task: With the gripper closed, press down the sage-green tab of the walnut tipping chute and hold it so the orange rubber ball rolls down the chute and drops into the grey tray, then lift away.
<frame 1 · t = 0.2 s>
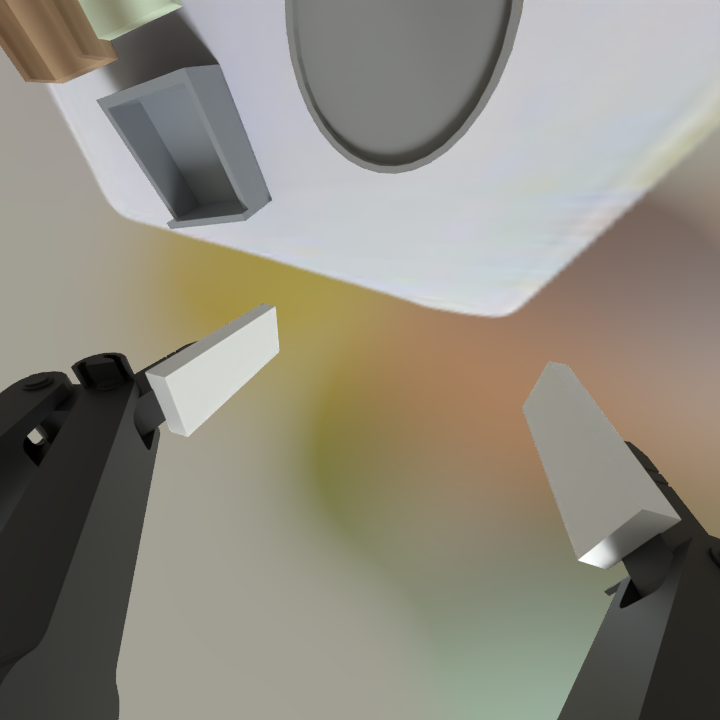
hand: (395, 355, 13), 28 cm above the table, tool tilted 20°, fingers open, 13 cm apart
reusable coffee cup: (426, 39, 23), on the table
grey tray: (209, 150, 35), on the table
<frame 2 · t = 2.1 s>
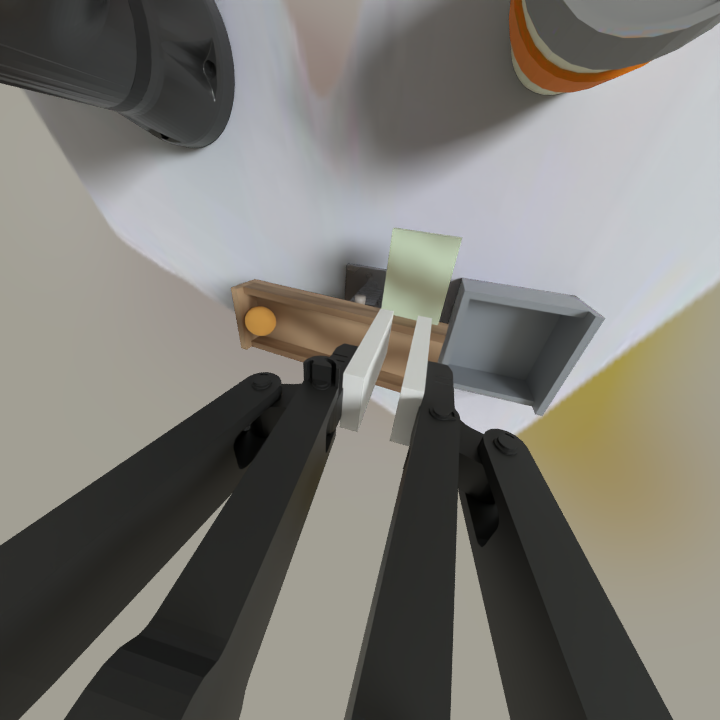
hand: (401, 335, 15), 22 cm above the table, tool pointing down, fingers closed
ball: (260, 321, 32), point 10 cm above the table, tilted 10°, touching chute
reusable coffee cup: (571, 20, 22), on the table
chute: (336, 305, 29), point 10 cm above the table, hinge at 6.1°, touching ball
stand: (371, 309, 39), on the table
grey tray: (497, 333, 36), on the table
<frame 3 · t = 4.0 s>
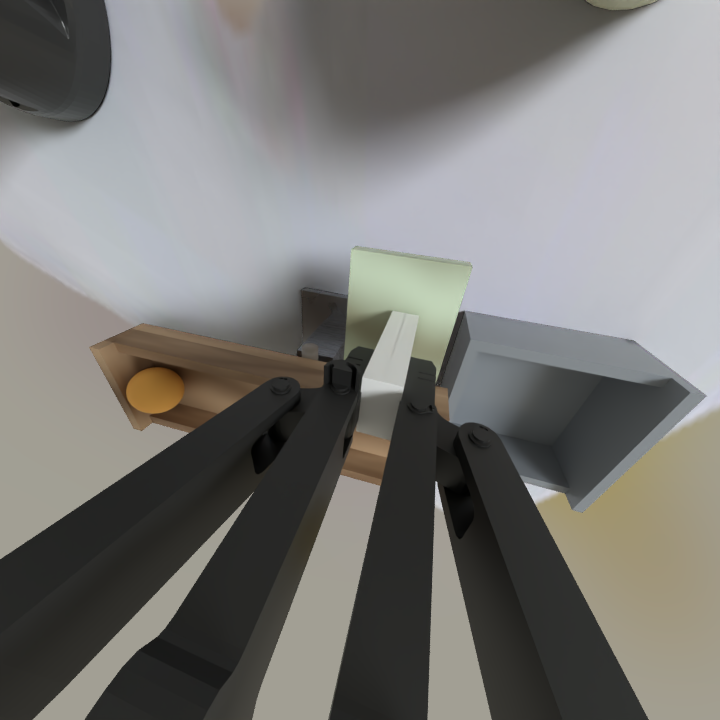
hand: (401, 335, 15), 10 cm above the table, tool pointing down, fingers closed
ball: (156, 390, 21), point 12 cm above the table, touching chute
chute: (272, 366, 18), point 10 cm above the table, hinge at -1.1°, touching ball, gripper
stand: (340, 348, 28), on the table
grey tray: (513, 385, 26), on the table
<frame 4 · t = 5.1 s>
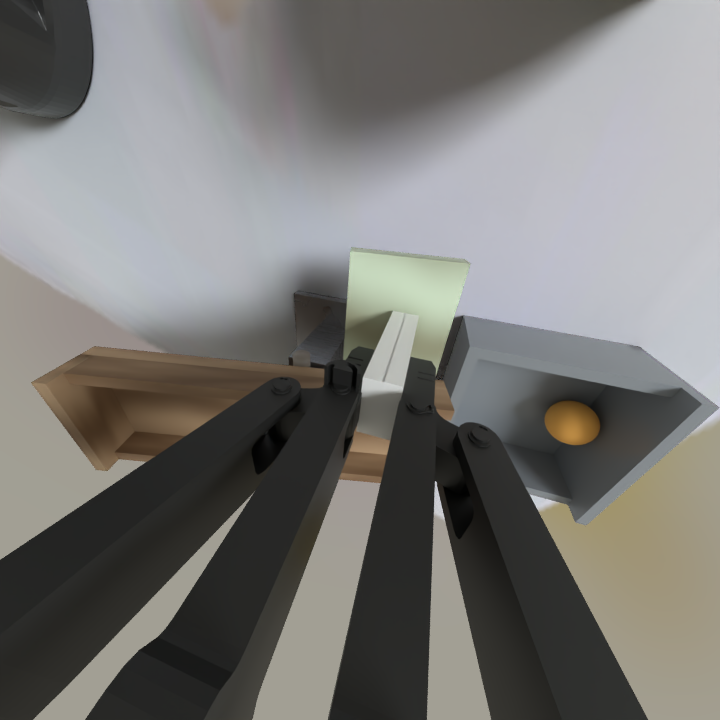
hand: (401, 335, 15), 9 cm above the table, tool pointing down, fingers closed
ball: (570, 422, 22), point 3 cm above the table, tilted 9°, touching grey tray
chute: (264, 379, 17), point 10 cm above the table, hinge at -12.1°, touching gripper
stand: (335, 353, 28), on the table
grey tray: (514, 392, 25), on the table
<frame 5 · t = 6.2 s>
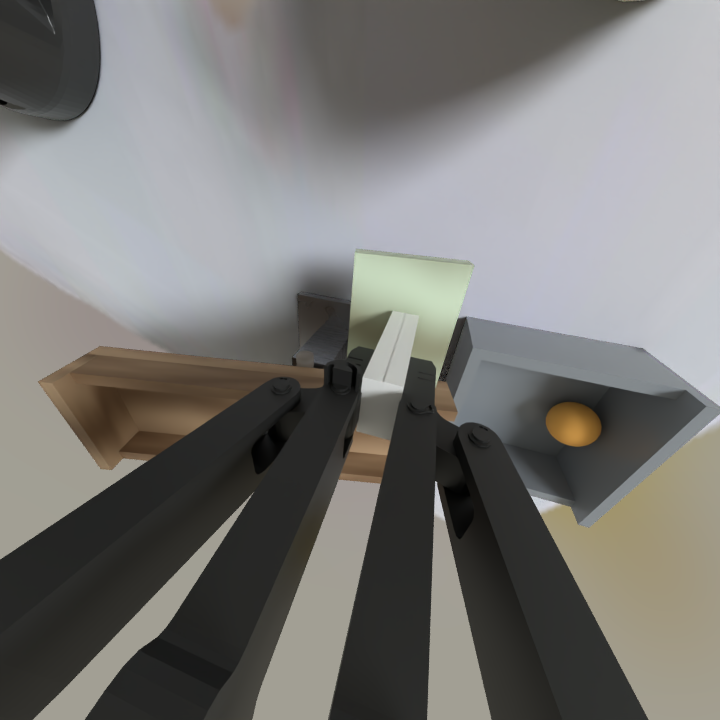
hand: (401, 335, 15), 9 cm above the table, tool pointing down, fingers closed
ball: (572, 423, 22), point 3 cm above the table, tilted 13°, touching grey tray
chute: (268, 379, 17), point 10 cm above the table, hinge at -12.1°
stand: (338, 354, 28), on the table
grey tray: (516, 394, 25), on the table
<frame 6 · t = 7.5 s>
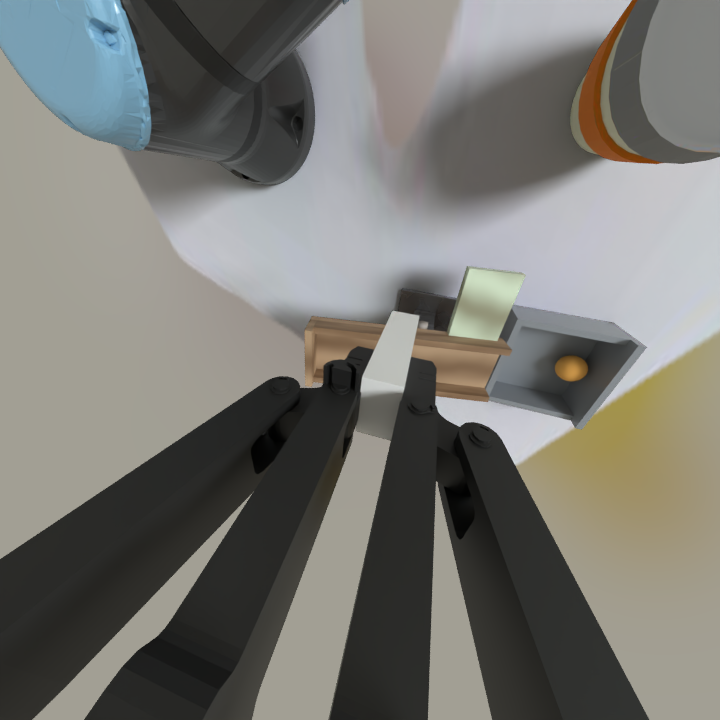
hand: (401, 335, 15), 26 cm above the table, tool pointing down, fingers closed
ball: (570, 368, 37), point 3 cm above the table, tilted 18°, touching grey tray
reusable coffee cup: (625, 96, 25), on the table
chute: (407, 334, 32), point 10 cm above the table, hinge at -12.1°
stand: (420, 329, 42), on the table
grey tray: (537, 353, 39), on the table
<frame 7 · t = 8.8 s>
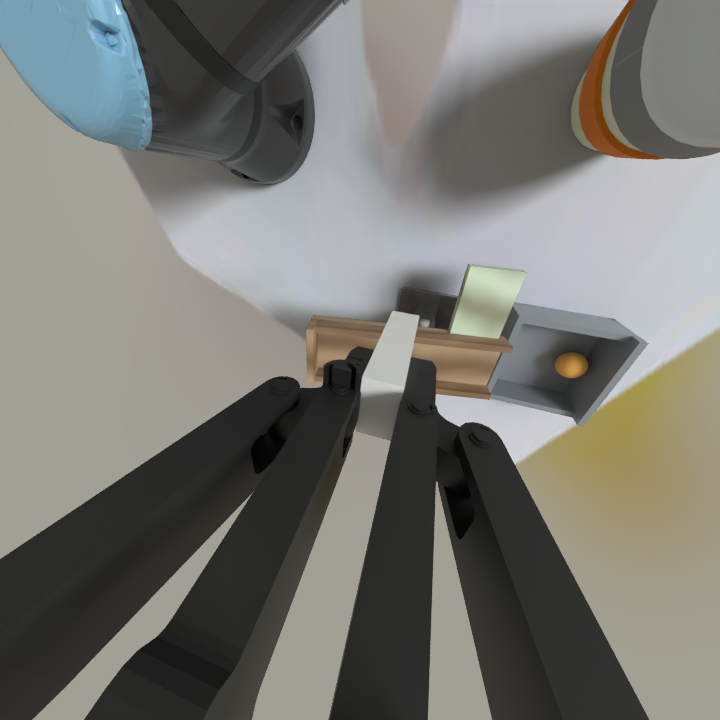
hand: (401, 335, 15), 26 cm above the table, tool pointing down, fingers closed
ball: (571, 365, 37), point 3 cm above the table, tilted 23°, touching grey tray
reusable coffee cup: (626, 92, 25), on the table
chute: (409, 332, 32), point 10 cm above the table, hinge at -12.1°
stand: (421, 327, 42), on the table
grey tray: (538, 351, 39), on the table
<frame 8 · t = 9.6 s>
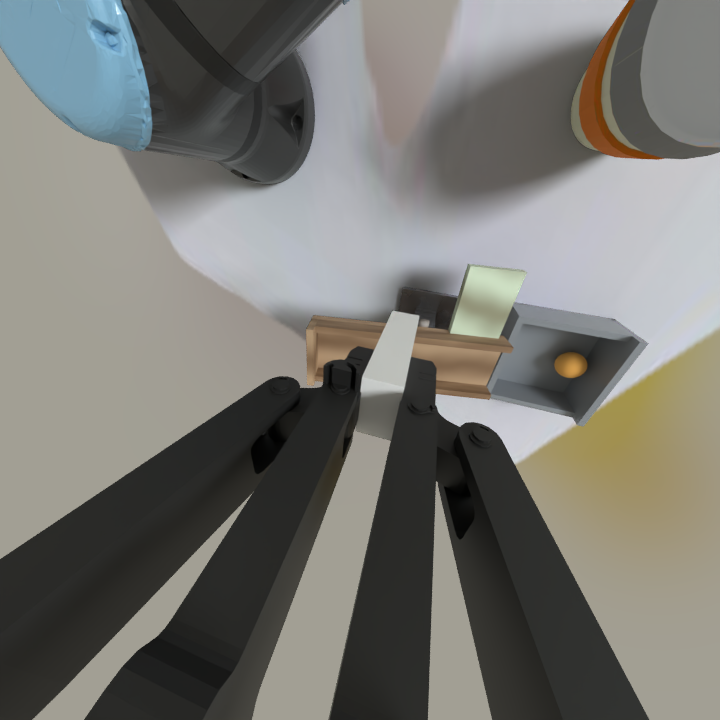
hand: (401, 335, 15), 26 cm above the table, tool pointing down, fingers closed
ball: (570, 365, 37), point 3 cm above the table, tilted 26°, touching grey tray
reusable coffee cup: (626, 92, 25), on the table
chute: (409, 332, 32), point 10 cm above the table, hinge at -12.1°
stand: (421, 327, 42), on the table
grey tray: (538, 351, 39), on the table
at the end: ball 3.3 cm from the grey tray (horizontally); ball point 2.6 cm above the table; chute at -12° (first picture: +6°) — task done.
